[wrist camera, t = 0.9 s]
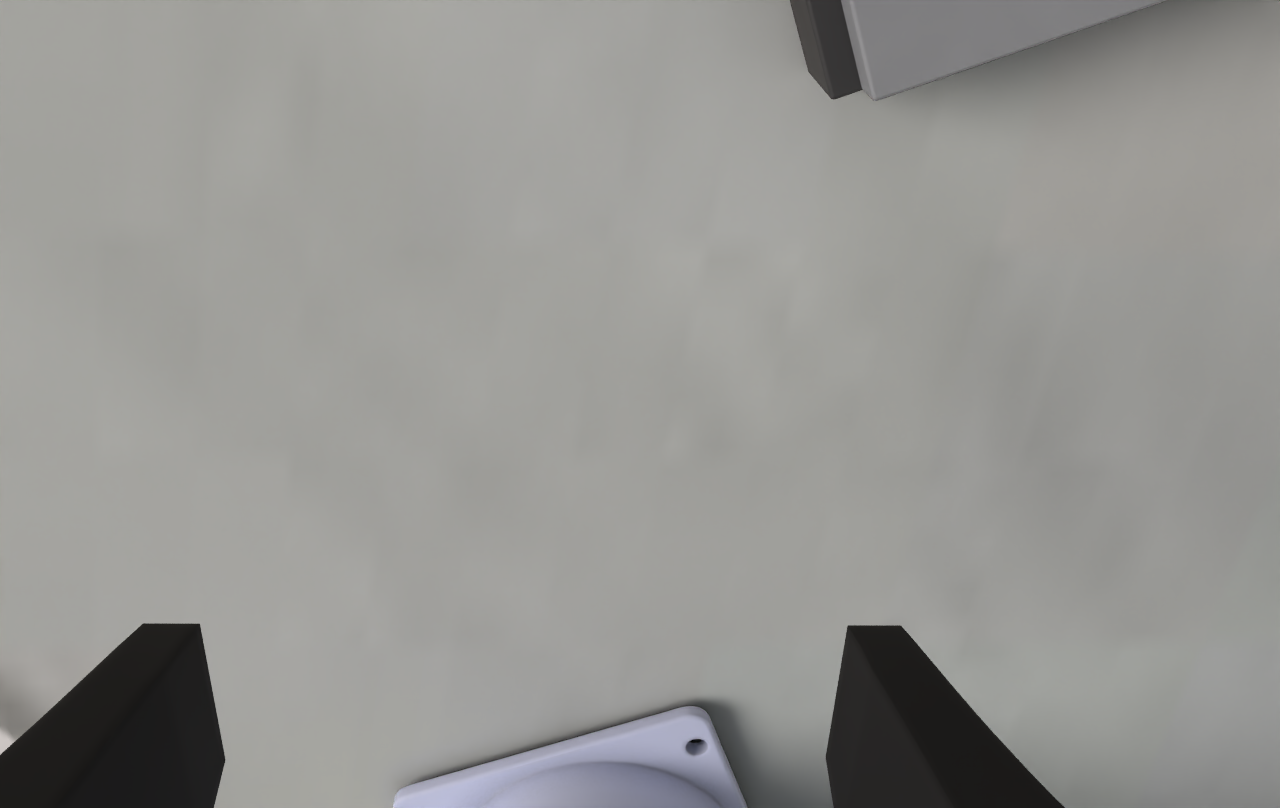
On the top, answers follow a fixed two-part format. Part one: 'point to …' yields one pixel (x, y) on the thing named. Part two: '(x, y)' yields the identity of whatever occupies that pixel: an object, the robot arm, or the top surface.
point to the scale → (930, 36)
